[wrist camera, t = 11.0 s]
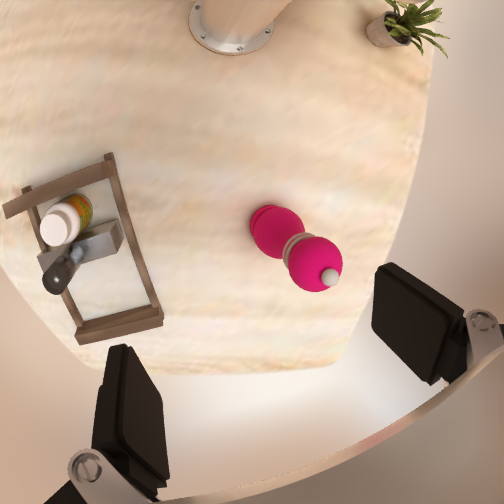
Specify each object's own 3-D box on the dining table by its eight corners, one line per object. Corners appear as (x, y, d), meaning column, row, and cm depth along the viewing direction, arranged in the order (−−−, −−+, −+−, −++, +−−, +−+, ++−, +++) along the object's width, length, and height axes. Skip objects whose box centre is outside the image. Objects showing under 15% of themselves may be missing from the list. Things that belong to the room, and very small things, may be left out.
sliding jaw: (51, 242, 36) (11, 282, 23) (117, 219, 38) (93, 255, 25) (58, 259, 37) (22, 305, 24) (123, 238, 39) (104, 281, 26)
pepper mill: (296, 234, 46) (368, 292, 29) (256, 253, 46) (310, 324, 28) (282, 194, 43) (358, 233, 25) (239, 213, 43) (291, 267, 25)
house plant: (348, -13, 31) (404, -44, 17) (403, 21, 36) (461, 6, 21) (339, 41, 36) (404, 14, 21) (397, 74, 40) (464, 66, 26)
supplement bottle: (97, 224, 37) (78, 246, 29) (67, 232, 36) (43, 256, 27) (88, 189, 35) (65, 202, 26) (57, 199, 34) (29, 215, 25)
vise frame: (25, 187, 32) (0, 198, 24) (112, 152, 34) (98, 154, 27) (85, 333, 43) (76, 363, 35) (164, 314, 45) (164, 344, 38)
